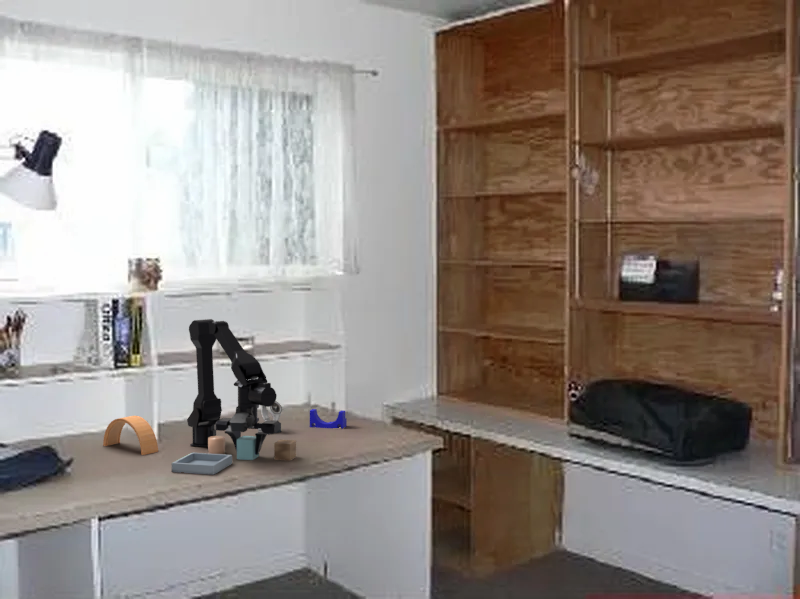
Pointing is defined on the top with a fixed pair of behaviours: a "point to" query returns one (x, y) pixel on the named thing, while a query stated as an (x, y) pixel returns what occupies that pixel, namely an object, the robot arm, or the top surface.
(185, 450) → the top surface
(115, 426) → the arch
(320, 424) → the cable clip
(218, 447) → the terracotta cylinder
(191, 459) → the tray
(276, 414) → the watch
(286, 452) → the walnut cube
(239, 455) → the teal block
